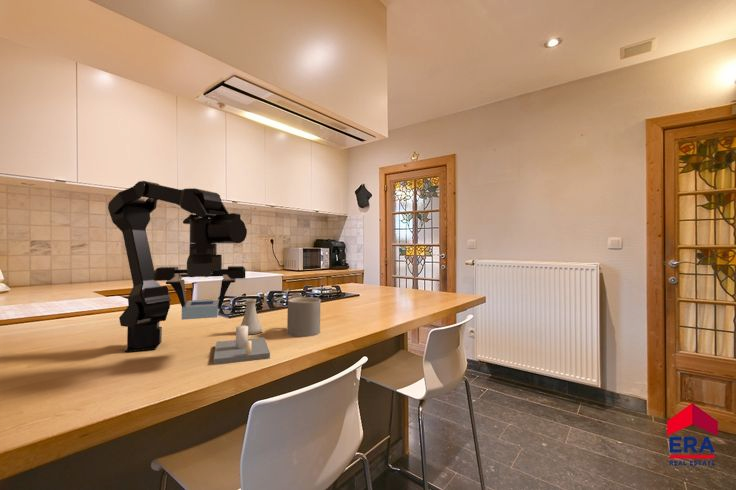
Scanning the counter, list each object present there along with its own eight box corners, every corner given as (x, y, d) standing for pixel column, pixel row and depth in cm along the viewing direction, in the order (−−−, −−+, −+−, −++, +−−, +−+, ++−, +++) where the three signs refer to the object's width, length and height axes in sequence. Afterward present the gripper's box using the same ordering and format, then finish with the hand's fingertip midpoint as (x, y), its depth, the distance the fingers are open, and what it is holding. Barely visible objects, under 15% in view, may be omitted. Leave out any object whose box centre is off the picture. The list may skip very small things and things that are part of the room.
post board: (213, 364, 71) (214, 336, 71) (216, 346, 84) (216, 322, 84) (269, 358, 76) (270, 331, 76) (264, 341, 89) (264, 319, 89)
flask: (257, 335, 95) (258, 301, 95) (233, 335, 95) (234, 301, 95) (266, 329, 102) (266, 298, 102) (243, 329, 103) (244, 297, 103)
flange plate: (217, 317, 73) (217, 305, 73) (181, 319, 70) (181, 307, 70) (219, 309, 82) (219, 299, 82) (188, 311, 79) (188, 300, 79)
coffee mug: (325, 334, 98) (325, 301, 98) (293, 338, 93) (294, 303, 93) (309, 324, 109) (309, 295, 109) (279, 328, 104) (280, 297, 104)
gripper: (147, 242, 65) (146, 319, 65) (246, 243, 72) (245, 313, 72) (160, 243, 76) (159, 309, 75) (245, 244, 82) (244, 305, 82)
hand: (202, 309), depth 76 cm, fingers closed on flange plate, 7 cm apart
